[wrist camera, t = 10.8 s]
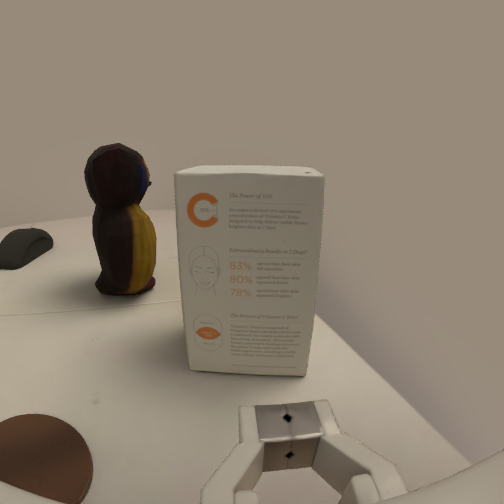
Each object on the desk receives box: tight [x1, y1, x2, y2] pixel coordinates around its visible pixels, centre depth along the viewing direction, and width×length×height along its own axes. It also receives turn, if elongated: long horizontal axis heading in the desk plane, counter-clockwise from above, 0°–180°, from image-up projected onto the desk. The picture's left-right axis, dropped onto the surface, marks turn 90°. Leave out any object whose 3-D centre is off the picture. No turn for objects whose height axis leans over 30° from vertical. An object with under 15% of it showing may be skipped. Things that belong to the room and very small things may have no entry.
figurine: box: [84, 143, 156, 295], centre depth 30 cm, size 10×7×15 cm
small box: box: [174, 165, 325, 376], centre depth 21 cm, size 8×6×13 cm
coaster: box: [0, 414, 93, 504], centre depth 11 cm, size 8×8×1 cm
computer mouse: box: [0, 228, 53, 269], centre depth 40 cm, size 6×11×4 cm, turn 0°
